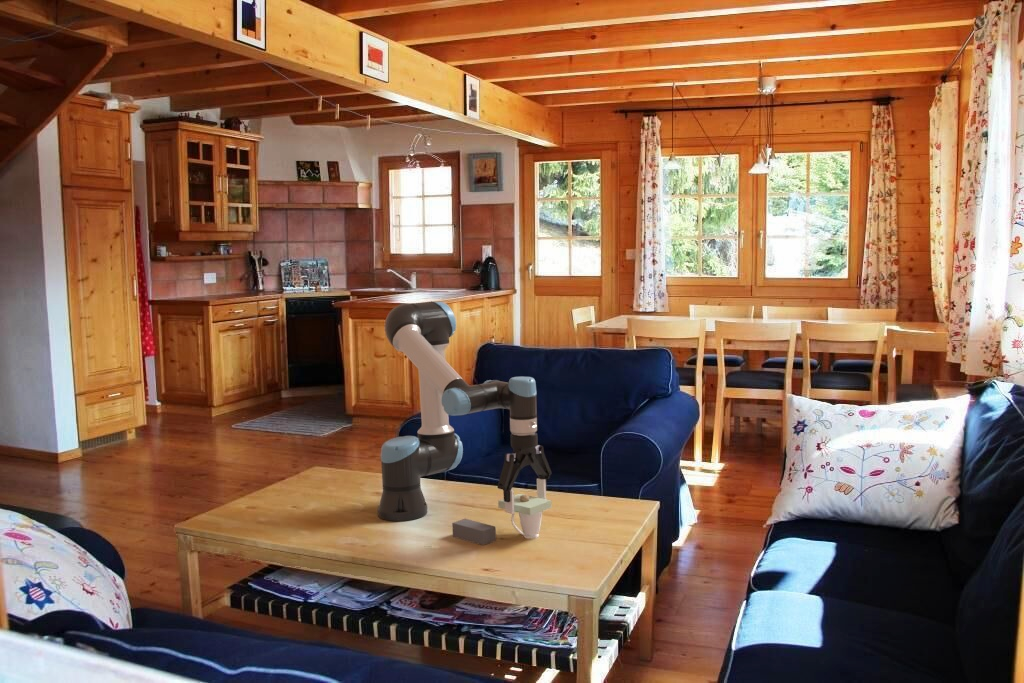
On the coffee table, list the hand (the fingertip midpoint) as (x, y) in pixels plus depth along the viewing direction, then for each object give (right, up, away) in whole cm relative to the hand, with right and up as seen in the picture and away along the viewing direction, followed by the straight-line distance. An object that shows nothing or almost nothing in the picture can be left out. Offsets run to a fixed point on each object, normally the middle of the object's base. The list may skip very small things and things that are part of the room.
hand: (526, 507), depth 245 cm
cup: (0, -8, +1) cm, 8 cm away
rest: (-15, -9, 0) cm, 17 cm away
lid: (0, 0, 0) cm, 0 cm away
